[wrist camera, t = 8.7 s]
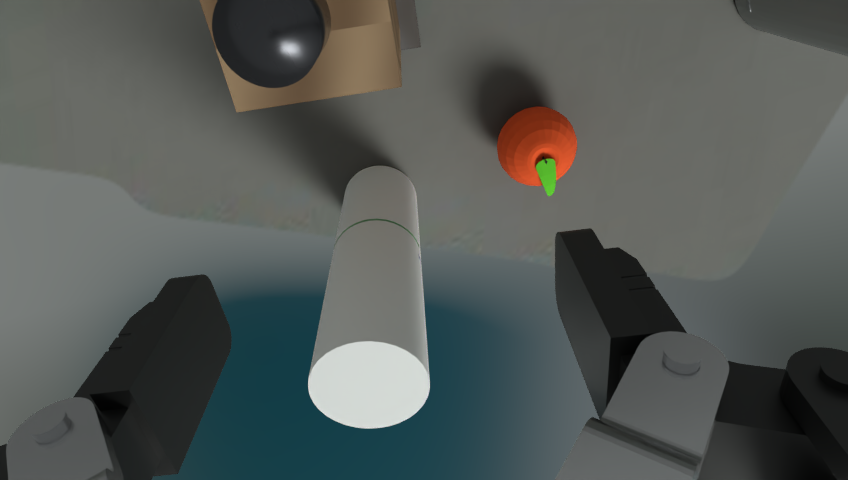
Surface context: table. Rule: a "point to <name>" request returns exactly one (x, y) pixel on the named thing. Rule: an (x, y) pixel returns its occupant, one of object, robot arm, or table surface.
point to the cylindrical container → (373, 308)
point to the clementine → (537, 147)
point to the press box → (340, 55)
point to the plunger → (271, 38)
